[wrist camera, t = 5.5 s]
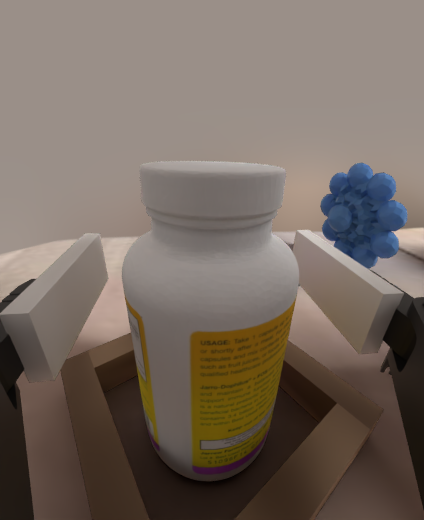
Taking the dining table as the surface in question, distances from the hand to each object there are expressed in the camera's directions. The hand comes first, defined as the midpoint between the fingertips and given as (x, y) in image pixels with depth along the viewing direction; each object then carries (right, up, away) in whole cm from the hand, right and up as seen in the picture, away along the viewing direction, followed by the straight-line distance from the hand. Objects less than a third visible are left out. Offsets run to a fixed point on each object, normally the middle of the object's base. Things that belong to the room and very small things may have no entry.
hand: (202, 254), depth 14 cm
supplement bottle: (0, -9, 0) cm, 9 cm away
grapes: (+17, -1, +18) cm, 25 cm away
